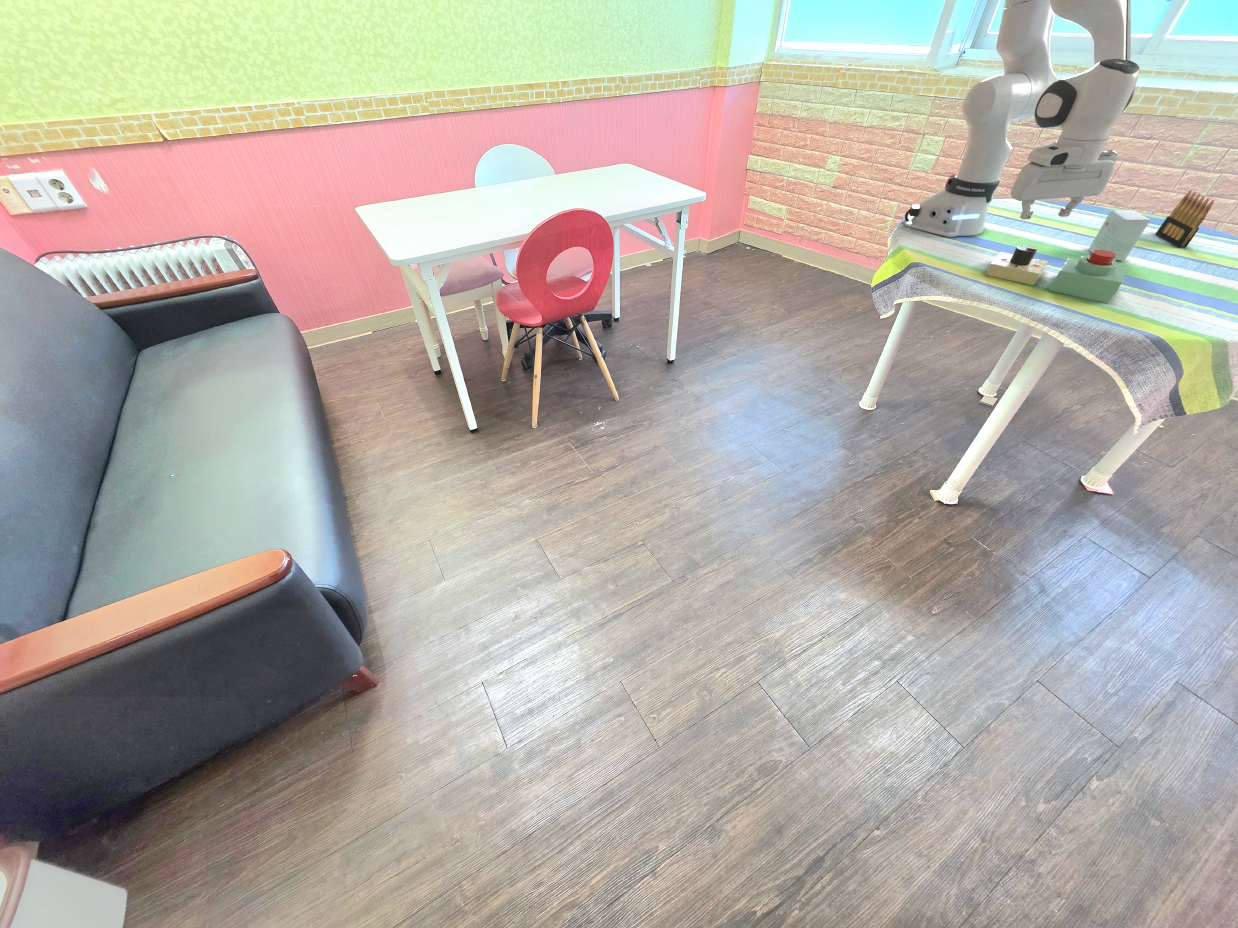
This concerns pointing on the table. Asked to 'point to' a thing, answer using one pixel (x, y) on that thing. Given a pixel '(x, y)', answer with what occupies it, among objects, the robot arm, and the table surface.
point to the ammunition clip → (1184, 220)
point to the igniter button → (1101, 257)
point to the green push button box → (1089, 279)
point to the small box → (1120, 233)
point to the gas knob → (1023, 255)
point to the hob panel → (1016, 269)
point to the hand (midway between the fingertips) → (1043, 217)
